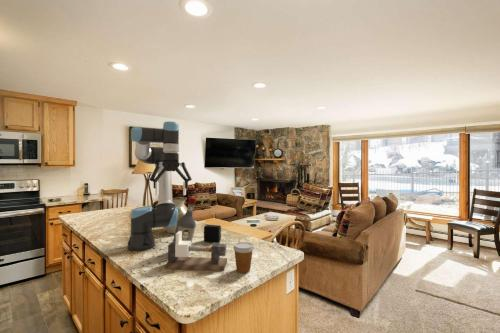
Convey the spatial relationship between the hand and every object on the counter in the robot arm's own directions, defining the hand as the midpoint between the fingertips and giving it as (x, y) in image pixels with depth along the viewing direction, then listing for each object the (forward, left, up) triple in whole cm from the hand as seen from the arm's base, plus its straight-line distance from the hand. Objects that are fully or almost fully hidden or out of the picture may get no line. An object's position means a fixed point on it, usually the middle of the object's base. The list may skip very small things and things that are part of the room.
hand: (170, 195), depth 124 cm
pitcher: (-18, +55, -34) cm, 68 cm away
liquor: (0, +14, -33) cm, 36 cm away
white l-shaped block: (+7, -3, -29) cm, 30 cm away
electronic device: (+14, +34, -34) cm, 51 cm away
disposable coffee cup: (+37, -7, -34) cm, 51 cm away
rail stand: (+14, -3, -34) cm, 37 cm away
